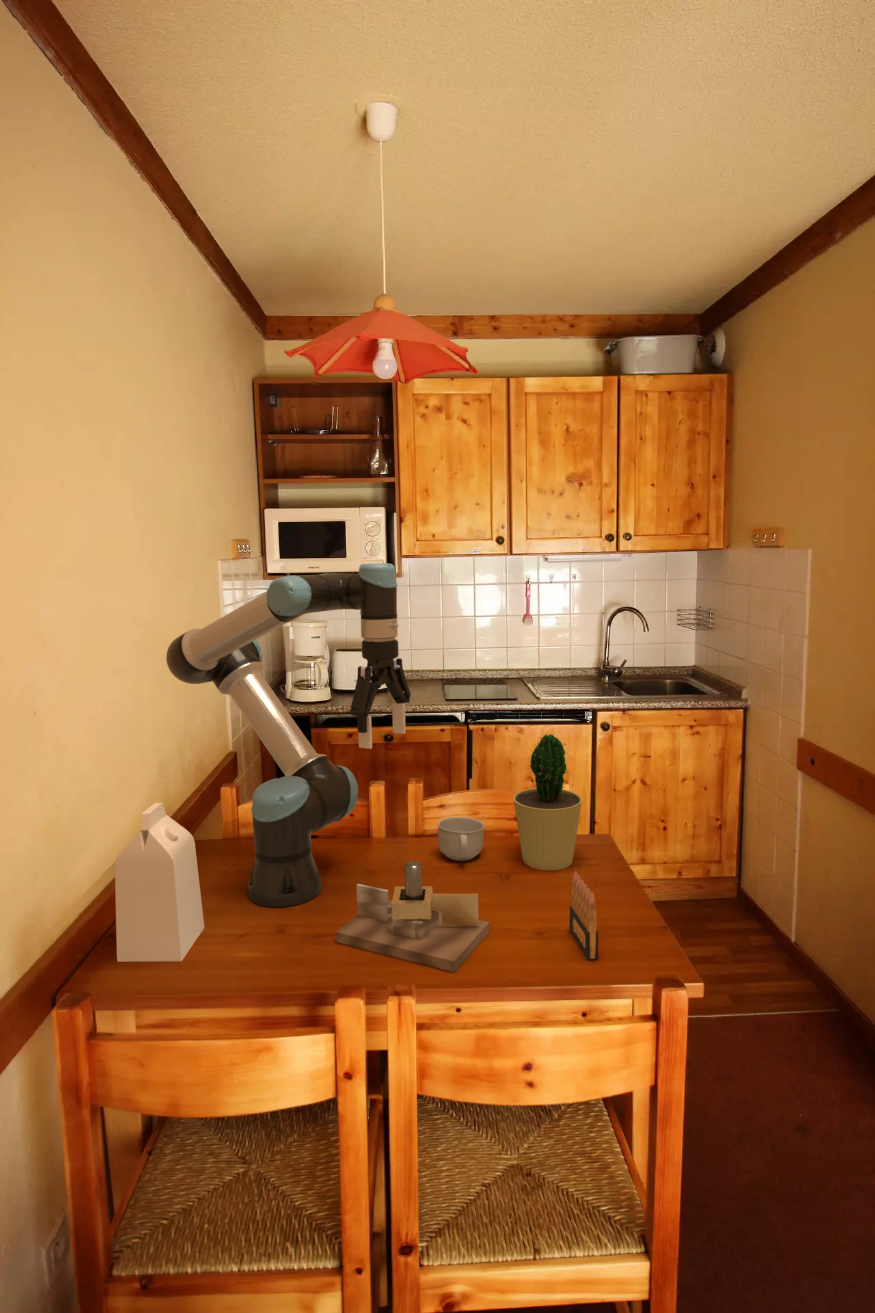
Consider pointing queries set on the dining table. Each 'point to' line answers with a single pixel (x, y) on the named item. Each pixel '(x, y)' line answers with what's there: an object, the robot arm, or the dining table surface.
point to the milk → (157, 892)
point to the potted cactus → (547, 810)
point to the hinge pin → (413, 880)
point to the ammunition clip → (583, 918)
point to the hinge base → (409, 933)
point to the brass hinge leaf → (436, 906)
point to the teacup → (460, 837)
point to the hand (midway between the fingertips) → (383, 740)
